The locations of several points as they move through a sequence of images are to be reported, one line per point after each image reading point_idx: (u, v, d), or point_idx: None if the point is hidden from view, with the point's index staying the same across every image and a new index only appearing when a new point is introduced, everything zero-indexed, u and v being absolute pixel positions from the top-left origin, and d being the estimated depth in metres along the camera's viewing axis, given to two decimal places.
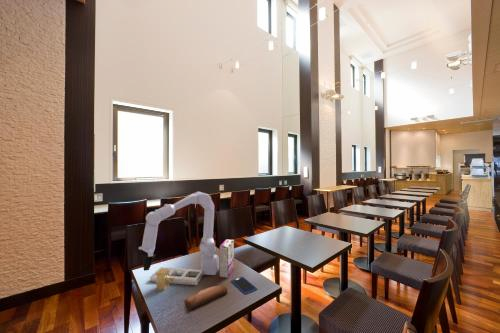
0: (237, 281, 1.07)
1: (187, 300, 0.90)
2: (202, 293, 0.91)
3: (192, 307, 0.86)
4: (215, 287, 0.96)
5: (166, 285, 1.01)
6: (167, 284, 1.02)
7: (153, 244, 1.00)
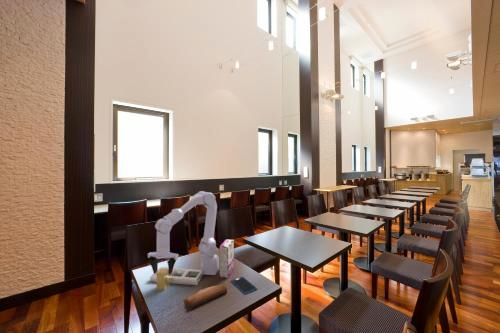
0: (237, 281, 1.07)
1: (187, 299, 0.90)
2: (202, 293, 0.92)
3: (192, 306, 0.86)
4: (215, 287, 0.96)
5: (166, 285, 1.01)
6: (167, 284, 1.02)
7: None
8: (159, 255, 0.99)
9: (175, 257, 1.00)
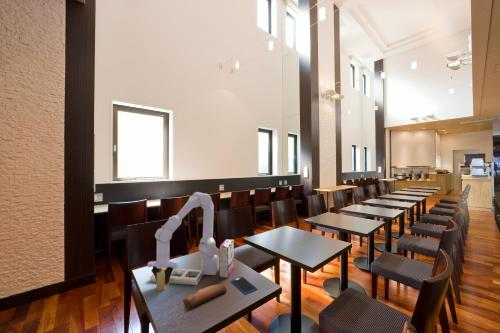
0: (237, 281, 1.07)
1: (186, 299, 0.91)
2: (201, 292, 0.92)
3: (192, 306, 0.86)
4: (214, 286, 0.96)
5: (166, 285, 1.01)
6: (167, 284, 1.02)
7: None
8: (159, 265, 0.99)
9: (175, 266, 1.00)
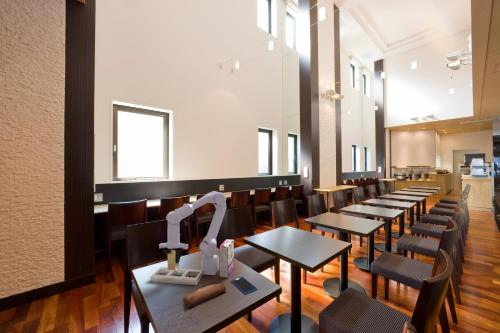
0: (237, 281, 1.07)
1: (186, 298, 0.92)
2: (200, 291, 0.93)
3: (190, 305, 0.87)
4: (213, 285, 0.97)
5: (176, 265, 1.07)
6: (177, 265, 1.08)
7: None
8: (170, 245, 1.05)
9: (185, 247, 1.06)
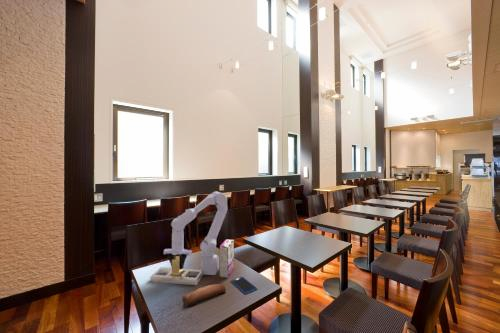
0: (237, 281, 1.07)
1: (185, 296, 0.93)
2: (200, 291, 0.93)
3: (189, 304, 0.88)
4: (213, 285, 0.97)
5: (180, 271, 1.09)
6: (181, 271, 1.10)
7: None
8: (174, 251, 1.07)
9: (189, 253, 1.08)
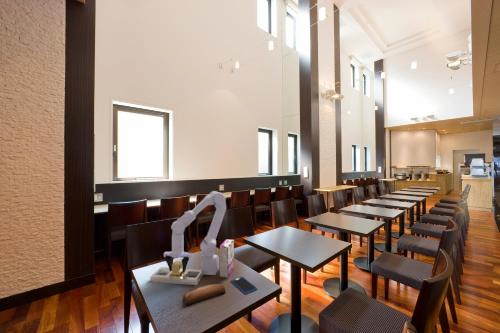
0: (237, 281, 1.07)
1: (185, 295, 0.93)
2: (199, 290, 0.94)
3: (187, 302, 0.88)
4: (213, 285, 0.97)
5: (180, 276, 1.09)
6: (181, 275, 1.10)
7: None
8: (174, 254, 1.07)
9: (189, 256, 1.09)
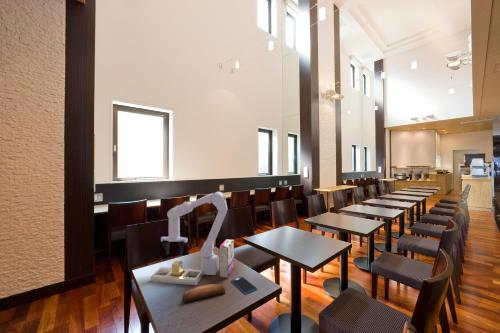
0: (237, 281, 1.07)
1: (185, 293, 0.95)
2: (198, 289, 0.95)
3: (185, 300, 0.90)
4: (213, 285, 0.97)
5: (180, 276, 1.09)
6: (181, 275, 1.10)
7: (179, 233, 1.18)
8: (171, 238, 1.14)
9: (185, 240, 1.15)
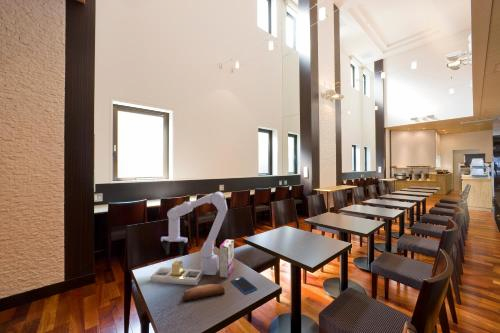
0: (237, 281, 1.07)
1: (185, 291, 0.96)
2: (198, 288, 0.95)
3: (185, 299, 0.91)
4: (212, 285, 0.97)
5: (180, 276, 1.09)
6: (181, 275, 1.10)
7: (179, 233, 1.18)
8: (171, 238, 1.14)
9: (185, 240, 1.15)
